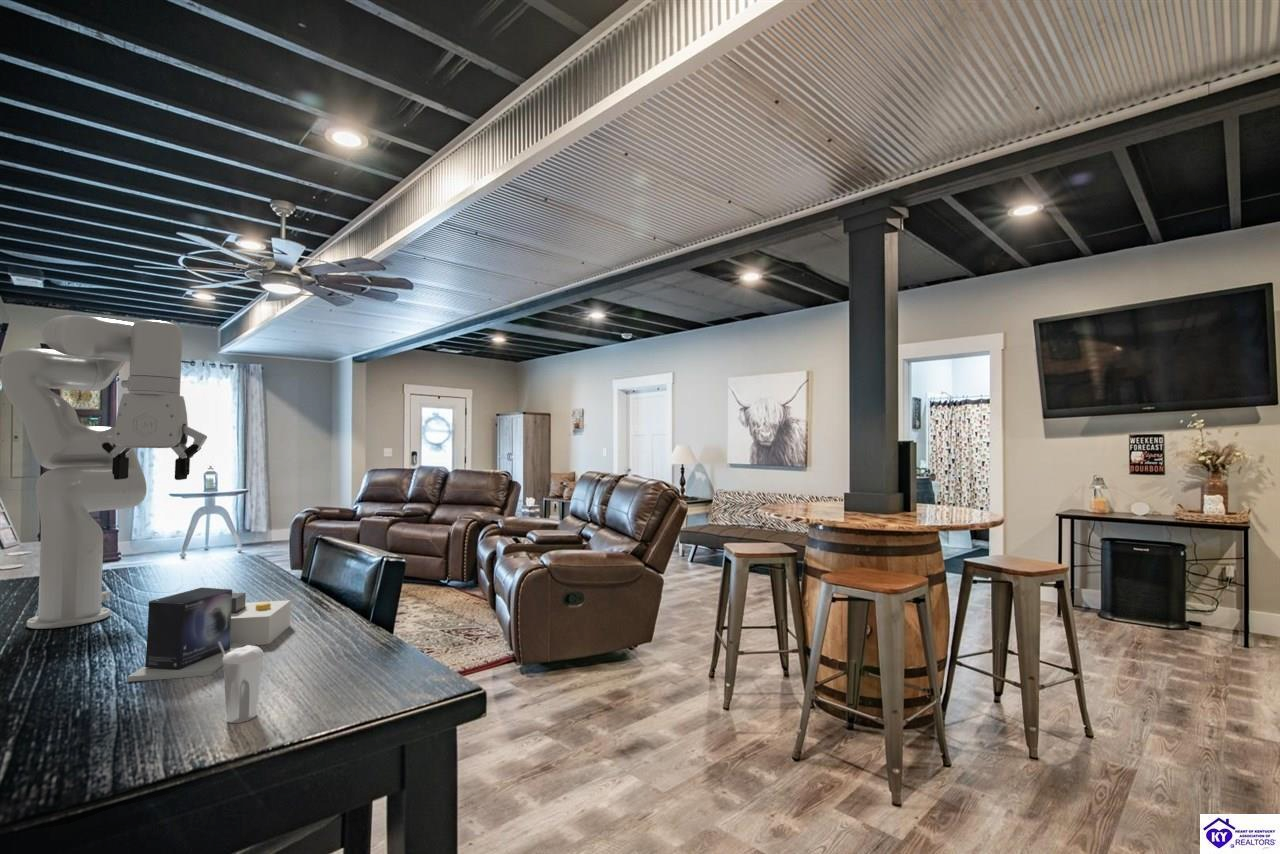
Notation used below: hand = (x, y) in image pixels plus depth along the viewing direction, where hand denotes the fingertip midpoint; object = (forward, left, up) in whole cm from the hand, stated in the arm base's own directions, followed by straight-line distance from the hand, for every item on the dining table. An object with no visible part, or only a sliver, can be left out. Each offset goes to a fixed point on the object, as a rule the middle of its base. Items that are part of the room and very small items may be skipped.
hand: (151, 479), depth 114 cm
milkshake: (+41, +30, -30) cm, 59 cm away
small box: (+16, +14, -29) cm, 36 cm away
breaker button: (+2, +14, -28) cm, 31 cm away
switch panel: (+2, +16, -30) cm, 34 cm away
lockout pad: (+16, +14, -30) cm, 36 cm away
